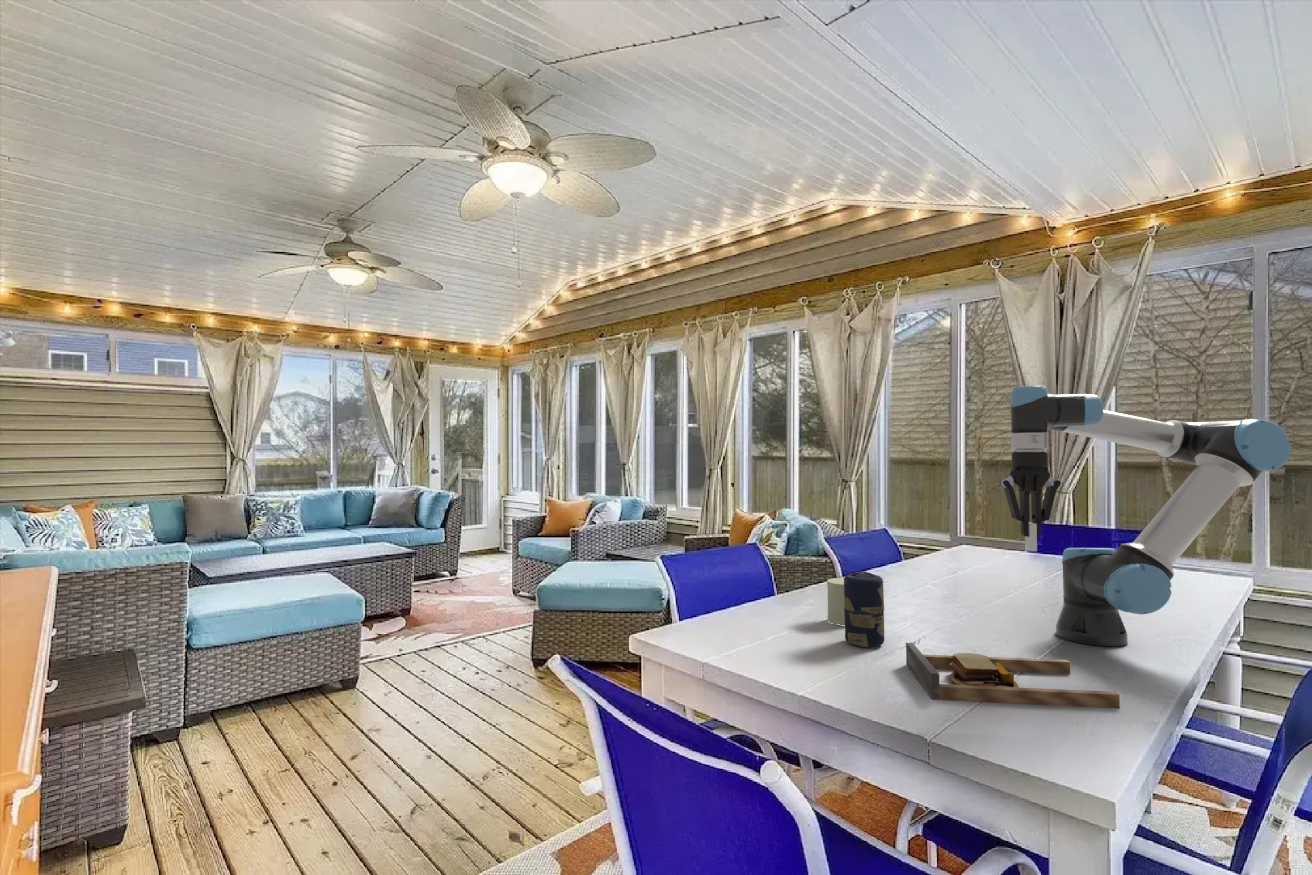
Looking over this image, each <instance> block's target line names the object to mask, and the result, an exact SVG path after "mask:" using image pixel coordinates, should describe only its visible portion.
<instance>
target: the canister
mask: <svg viewBox="0 0 1312 875" xmlns="http://www.w3.org/2000/svg"><path fill="white" fill-rule="evenodd" d="M843 578H844V617H845V627H844V638H845V641H846V642H847V643H848V644H850V645H854V646H857V647H862V648H873V647H874V648H875V647H880V646H882V645H883V644H884V643H885V614H884V613H885V597H884V596H885V594H884V580H883V578H882V577H881V576H880V575H877V574H873V573H870V572H867V571H858V572H854V573H849V574H847V575H845V576H844V577H843Z"/></svg>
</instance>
